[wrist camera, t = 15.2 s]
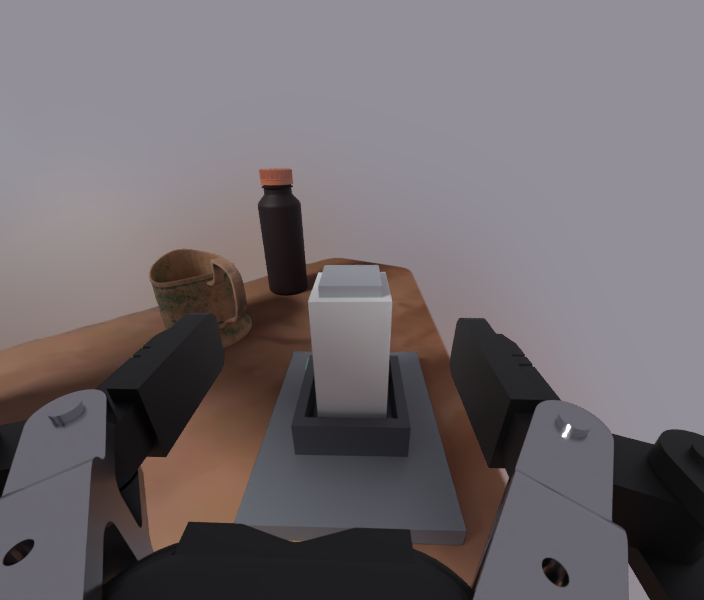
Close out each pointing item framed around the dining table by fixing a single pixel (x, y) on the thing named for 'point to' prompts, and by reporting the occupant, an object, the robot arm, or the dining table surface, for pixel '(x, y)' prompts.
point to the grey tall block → (351, 341)
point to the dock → (353, 464)
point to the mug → (201, 291)
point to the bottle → (282, 233)
